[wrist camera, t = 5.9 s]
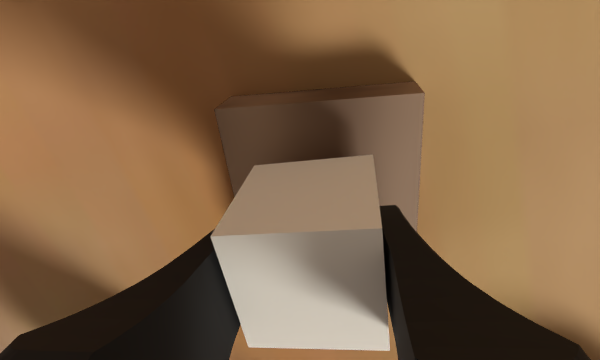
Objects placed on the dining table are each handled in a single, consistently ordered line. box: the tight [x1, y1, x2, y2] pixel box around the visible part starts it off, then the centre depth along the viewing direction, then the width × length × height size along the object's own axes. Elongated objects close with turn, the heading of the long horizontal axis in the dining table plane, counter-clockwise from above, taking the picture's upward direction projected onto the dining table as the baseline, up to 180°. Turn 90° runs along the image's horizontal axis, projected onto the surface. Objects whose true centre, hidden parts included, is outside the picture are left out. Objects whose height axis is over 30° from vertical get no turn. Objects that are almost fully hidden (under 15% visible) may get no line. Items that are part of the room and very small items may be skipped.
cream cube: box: [210, 155, 390, 351], centre depth 11 cm, size 4×4×4 cm
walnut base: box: [214, 81, 425, 232], centre depth 15 cm, size 8×8×2 cm
